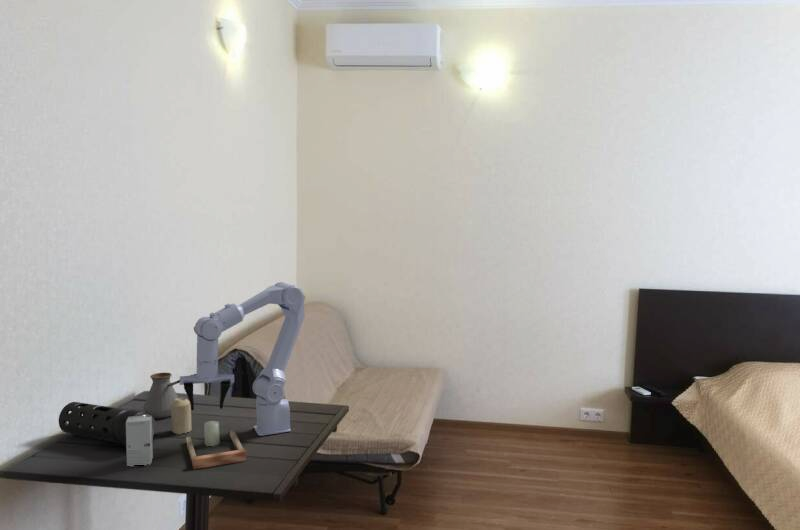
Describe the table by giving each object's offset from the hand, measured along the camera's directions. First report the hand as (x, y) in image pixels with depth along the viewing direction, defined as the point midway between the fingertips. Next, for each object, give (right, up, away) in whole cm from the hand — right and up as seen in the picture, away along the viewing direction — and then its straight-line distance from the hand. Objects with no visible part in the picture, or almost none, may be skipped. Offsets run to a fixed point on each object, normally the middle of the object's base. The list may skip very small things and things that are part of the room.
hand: (206, 408), depth 184 cm
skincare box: (-14, -12, -11) cm, 22 cm away
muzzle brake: (-29, -11, +4) cm, 31 cm away
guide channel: (+3, -11, -3) cm, 12 cm away
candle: (-11, -10, +12) cm, 19 cm away
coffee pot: (-18, -8, +25) cm, 32 cm away
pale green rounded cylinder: (+1, -10, +1) cm, 11 cm away
